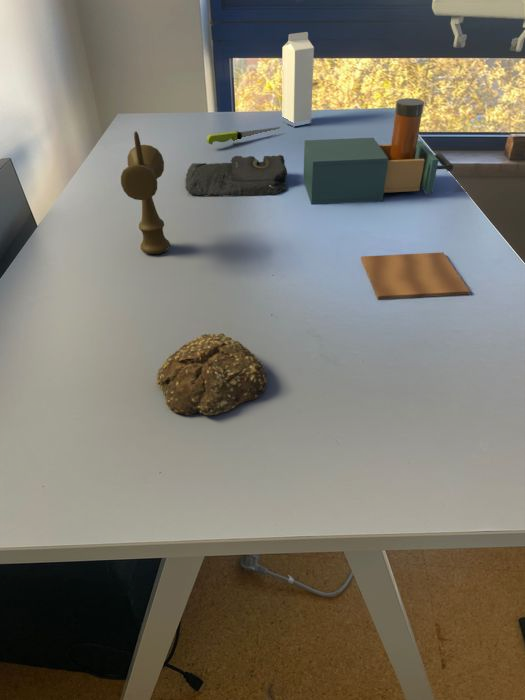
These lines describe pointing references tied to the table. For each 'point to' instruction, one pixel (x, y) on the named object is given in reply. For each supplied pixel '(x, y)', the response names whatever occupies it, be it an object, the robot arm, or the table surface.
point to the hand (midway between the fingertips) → (486, 49)
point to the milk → (297, 78)
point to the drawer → (413, 170)
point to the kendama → (146, 193)
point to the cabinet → (344, 170)
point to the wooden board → (413, 276)
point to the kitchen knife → (234, 135)
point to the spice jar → (406, 128)
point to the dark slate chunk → (238, 177)
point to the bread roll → (210, 376)
